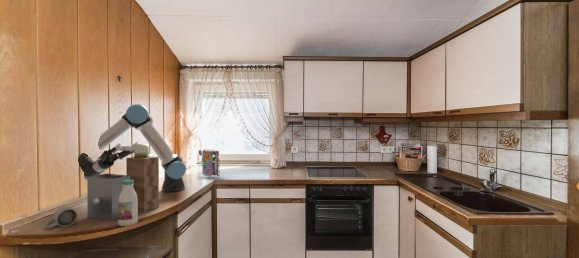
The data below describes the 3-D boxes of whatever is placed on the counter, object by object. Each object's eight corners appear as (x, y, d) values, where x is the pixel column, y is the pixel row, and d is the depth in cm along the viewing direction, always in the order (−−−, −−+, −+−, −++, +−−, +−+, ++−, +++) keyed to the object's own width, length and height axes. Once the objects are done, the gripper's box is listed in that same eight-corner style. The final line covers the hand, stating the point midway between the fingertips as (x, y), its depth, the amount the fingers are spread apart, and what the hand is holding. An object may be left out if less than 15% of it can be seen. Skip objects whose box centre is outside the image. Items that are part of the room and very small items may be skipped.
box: (195, 176, 248) (195, 149, 247) (201, 175, 253) (201, 148, 252) (214, 179, 233) (214, 150, 233) (219, 178, 238) (219, 150, 238)
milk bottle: (128, 219, 133) (128, 178, 133) (141, 221, 131) (141, 179, 130) (114, 225, 125) (114, 181, 125) (127, 227, 123) (127, 182, 123)
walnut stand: (141, 205, 157) (141, 156, 157) (158, 207, 154) (158, 156, 153) (126, 210, 148) (126, 157, 148) (144, 212, 144) (144, 158, 144)
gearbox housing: (106, 211, 146) (106, 172, 145) (130, 214, 141) (129, 174, 140) (83, 218, 134) (83, 176, 134) (108, 222, 129) (107, 178, 129)
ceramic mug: (72, 220, 132) (71, 204, 132) (77, 223, 127) (77, 207, 127) (42, 227, 124) (42, 210, 123) (48, 231, 119) (47, 213, 119)
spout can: (125, 155, 159) (125, 143, 159) (151, 156, 153) (151, 144, 153) (114, 156, 152) (114, 144, 152) (141, 158, 146) (141, 145, 146)
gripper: (123, 166, 170) (148, 149, 164) (86, 172, 148) (113, 152, 142) (119, 155, 171) (143, 138, 165) (81, 159, 149) (107, 139, 143)
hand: (129, 144), depth 153 cm, fingers open, 10 cm apart
